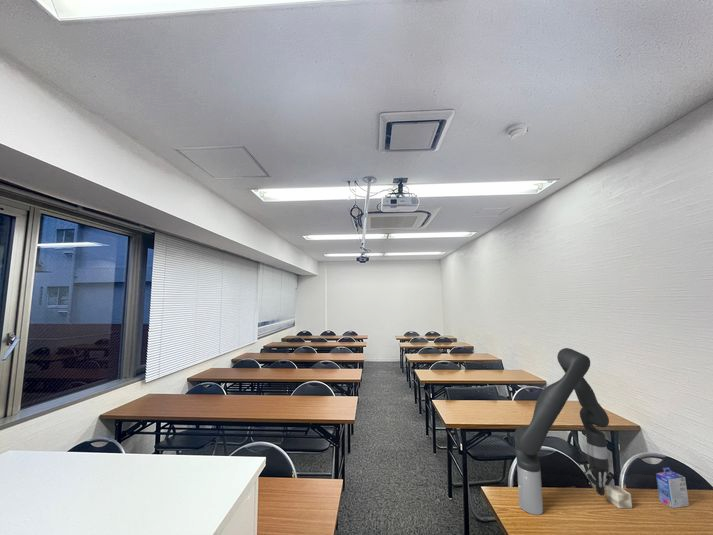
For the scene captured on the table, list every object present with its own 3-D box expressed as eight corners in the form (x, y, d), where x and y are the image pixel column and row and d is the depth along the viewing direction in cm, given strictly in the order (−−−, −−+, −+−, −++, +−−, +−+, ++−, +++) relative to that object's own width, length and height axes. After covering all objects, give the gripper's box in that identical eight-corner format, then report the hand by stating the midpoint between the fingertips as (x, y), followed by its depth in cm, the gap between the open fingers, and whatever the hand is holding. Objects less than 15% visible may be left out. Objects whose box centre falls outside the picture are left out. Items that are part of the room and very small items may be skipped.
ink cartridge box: (674, 498, 138) (670, 465, 139) (689, 506, 132) (685, 471, 134) (658, 500, 136) (654, 467, 137) (672, 508, 130) (668, 474, 132)
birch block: (619, 509, 130) (618, 494, 131) (607, 500, 136) (605, 486, 137) (632, 508, 131) (630, 494, 131) (619, 499, 136) (618, 485, 137)
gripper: (590, 458, 131) (594, 500, 129) (618, 457, 132) (622, 499, 130) (577, 450, 139) (580, 489, 137) (603, 449, 139) (606, 488, 137)
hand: (600, 494), depth 133 cm, fingers closed
